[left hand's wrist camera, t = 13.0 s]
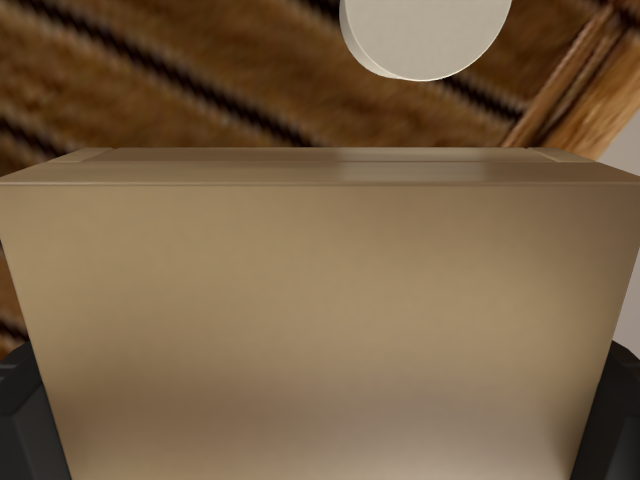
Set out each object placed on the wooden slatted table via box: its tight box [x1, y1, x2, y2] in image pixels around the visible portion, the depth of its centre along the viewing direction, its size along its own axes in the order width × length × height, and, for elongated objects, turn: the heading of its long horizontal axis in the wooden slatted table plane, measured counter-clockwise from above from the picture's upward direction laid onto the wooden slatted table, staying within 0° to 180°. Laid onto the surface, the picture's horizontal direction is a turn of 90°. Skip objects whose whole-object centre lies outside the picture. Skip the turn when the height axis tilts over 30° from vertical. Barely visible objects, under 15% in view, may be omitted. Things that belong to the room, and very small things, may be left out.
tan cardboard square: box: [0, 148, 640, 480], centre depth 10 cm, size 10×10×3 cm
